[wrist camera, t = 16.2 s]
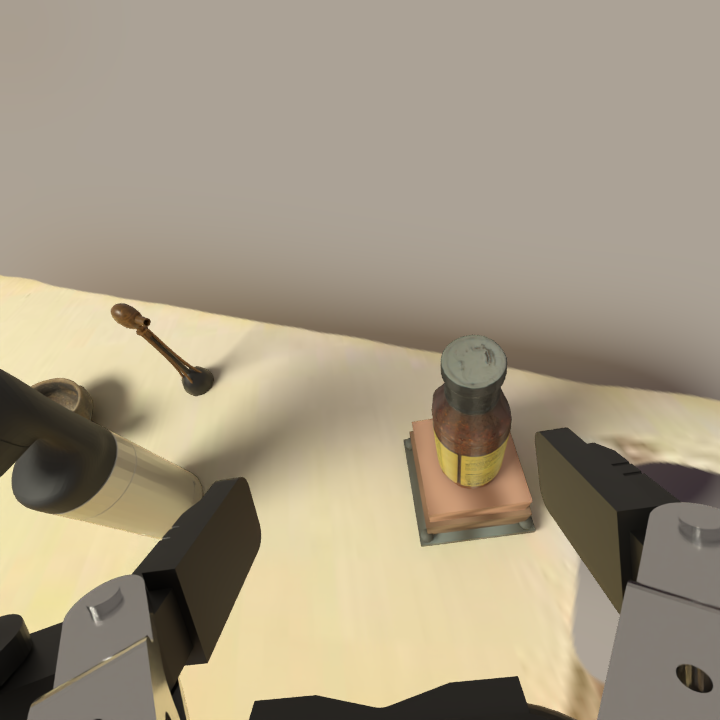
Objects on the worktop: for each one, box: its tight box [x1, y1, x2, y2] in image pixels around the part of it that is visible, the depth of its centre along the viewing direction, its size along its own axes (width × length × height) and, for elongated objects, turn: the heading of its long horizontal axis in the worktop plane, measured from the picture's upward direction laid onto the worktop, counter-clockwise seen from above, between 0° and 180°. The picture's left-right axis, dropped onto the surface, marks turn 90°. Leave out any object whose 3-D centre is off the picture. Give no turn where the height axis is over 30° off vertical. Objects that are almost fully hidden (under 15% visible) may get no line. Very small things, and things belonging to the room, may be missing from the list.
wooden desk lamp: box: [111, 303, 214, 396], centre depth 57 cm, size 6×5×20 cm
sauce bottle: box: [432, 335, 512, 489], centre depth 32 cm, size 6×6×20 cm
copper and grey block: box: [404, 419, 536, 547], centre depth 45 cm, size 13×13×10 cm
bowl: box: [31, 378, 93, 421], centre depth 60 cm, size 14×18×10 cm
